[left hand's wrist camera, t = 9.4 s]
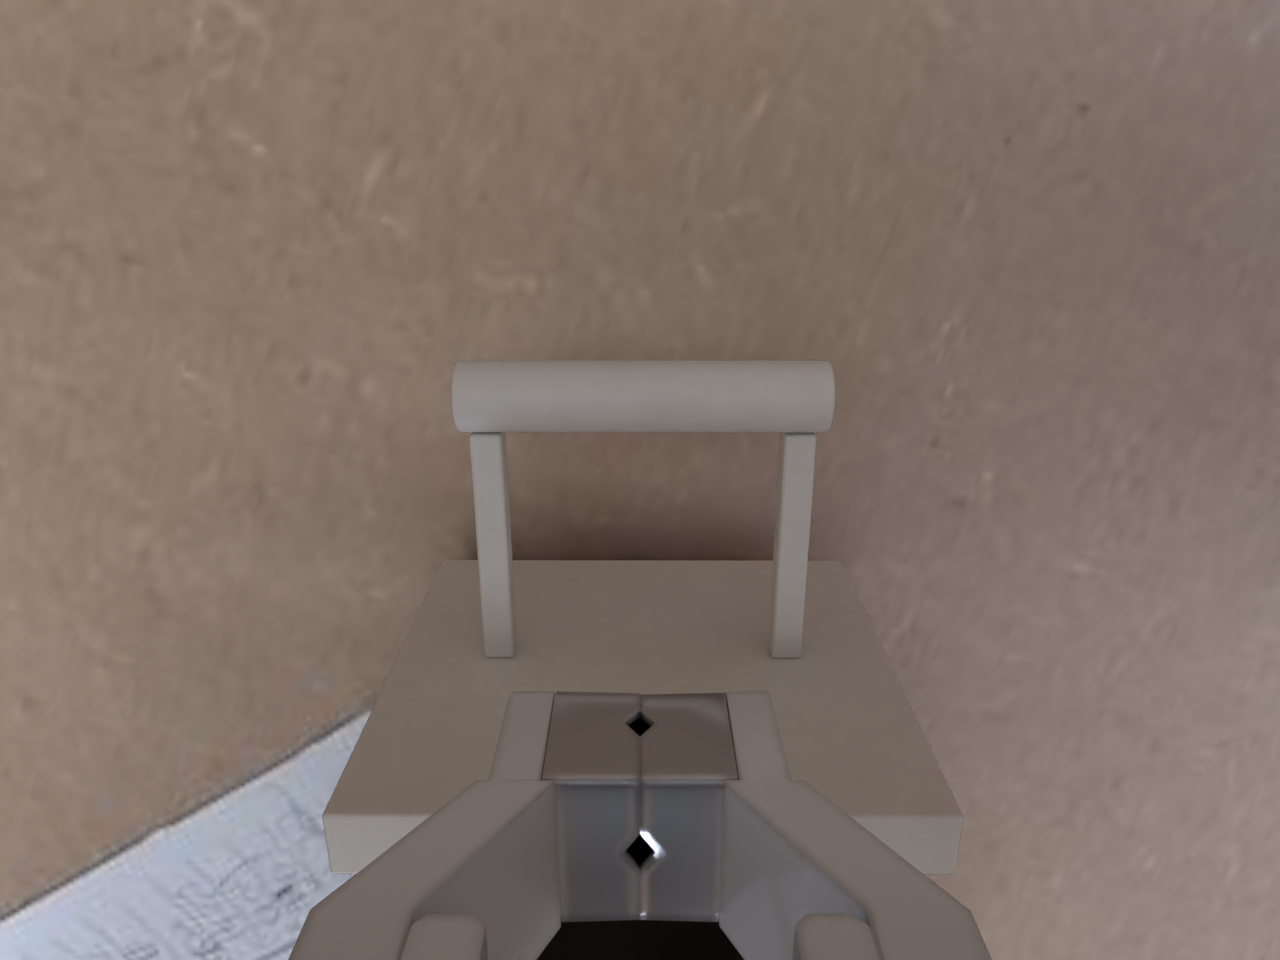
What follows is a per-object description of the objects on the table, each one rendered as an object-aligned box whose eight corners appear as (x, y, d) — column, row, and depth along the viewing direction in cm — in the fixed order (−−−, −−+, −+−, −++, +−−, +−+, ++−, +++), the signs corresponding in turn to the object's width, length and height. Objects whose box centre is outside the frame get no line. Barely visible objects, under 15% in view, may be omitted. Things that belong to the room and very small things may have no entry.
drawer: (421, 317, 20) (261, 444, 12) (864, 317, 20) (1026, 444, 12) (483, 1030, 28) (414, 1415, 20) (800, 1031, 28) (868, 1416, 20)
